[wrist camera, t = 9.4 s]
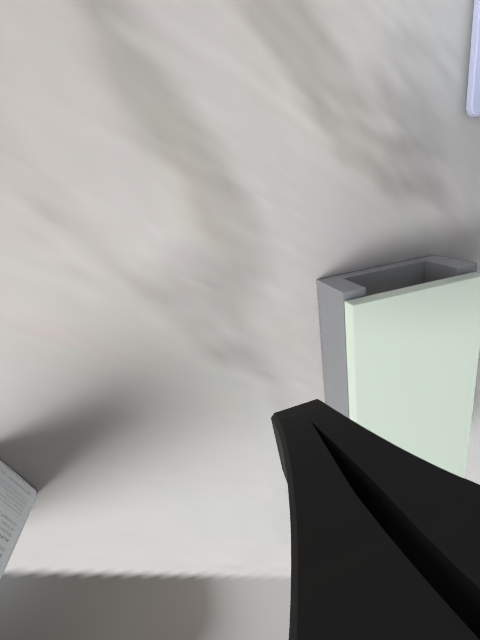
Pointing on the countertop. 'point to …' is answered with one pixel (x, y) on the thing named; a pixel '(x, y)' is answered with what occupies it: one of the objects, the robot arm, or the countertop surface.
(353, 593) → the robot arm
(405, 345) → the cover
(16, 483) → the skincare box
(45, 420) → the countertop surface
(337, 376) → the grey open tray
